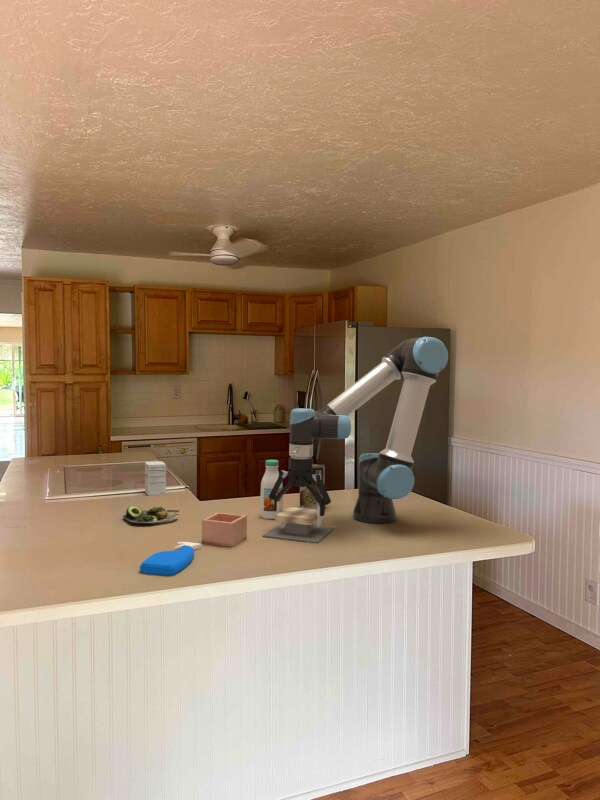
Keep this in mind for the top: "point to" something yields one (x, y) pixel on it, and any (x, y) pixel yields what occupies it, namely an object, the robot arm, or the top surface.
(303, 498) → the coffee box
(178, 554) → the spray bottle
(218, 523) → the open box
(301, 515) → the lid
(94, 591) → the top surface
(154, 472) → the supplement box
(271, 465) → the milk bottle
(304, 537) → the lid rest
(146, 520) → the salad plate
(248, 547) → the top surface
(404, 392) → the robot arm
